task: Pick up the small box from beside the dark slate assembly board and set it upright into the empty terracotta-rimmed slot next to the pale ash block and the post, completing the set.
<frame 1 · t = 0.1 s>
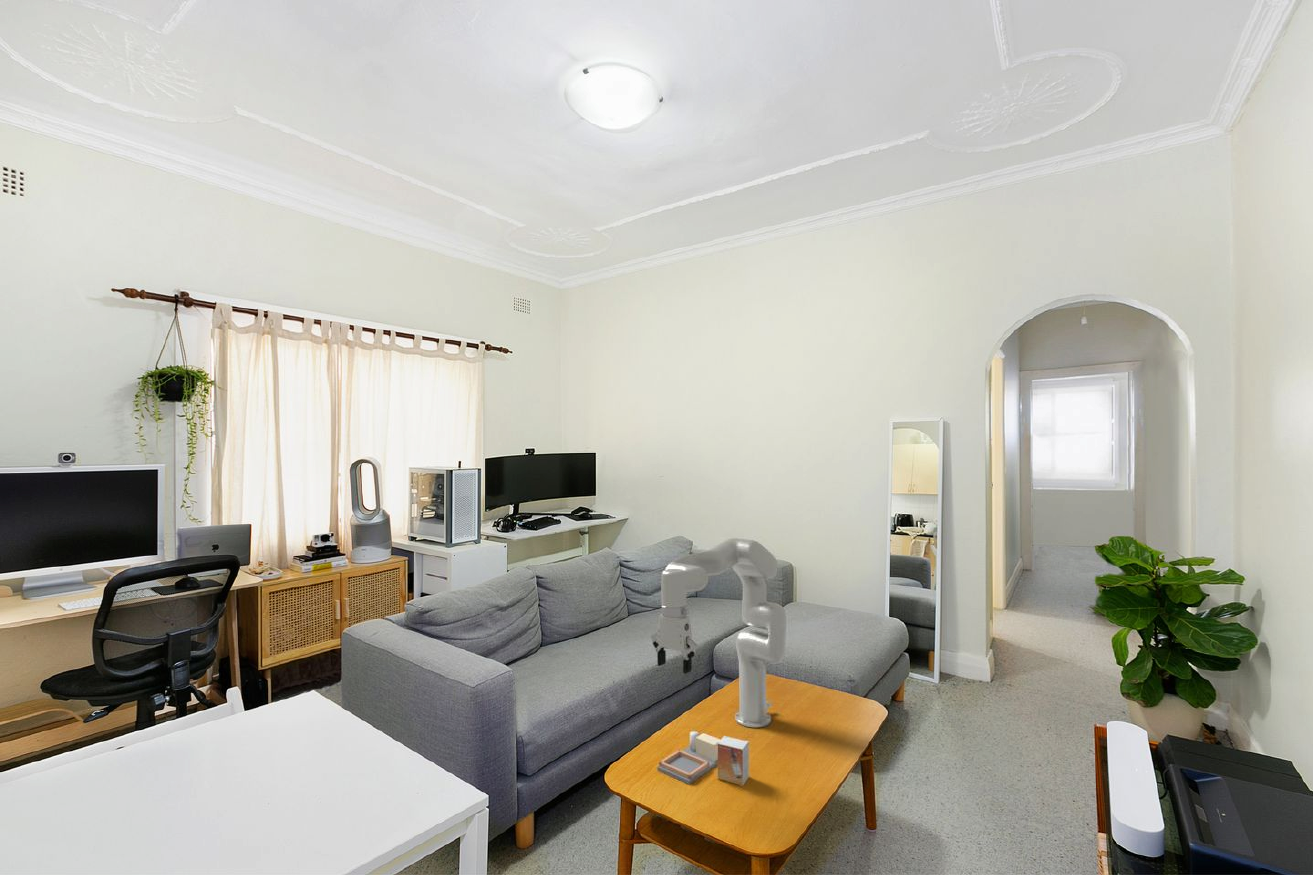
hand: (674, 668, 177), 31 cm above the table, fingers open, 9 cm apart
small box: (733, 778, 174), on the table
assembly board: (691, 764, 181), on the table
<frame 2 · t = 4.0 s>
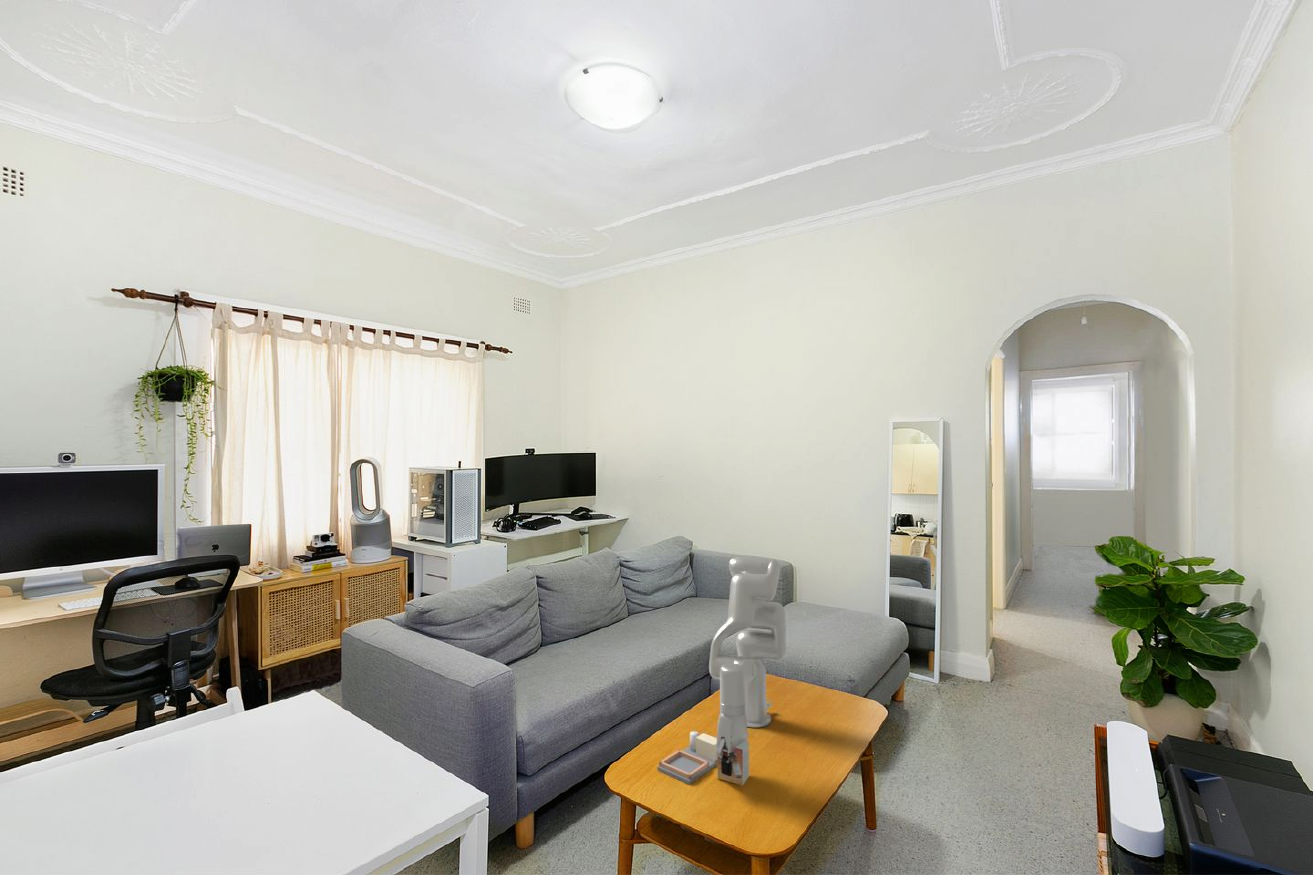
hand: (733, 768, 174), 3 cm above the table, fingers closed on small box, 6 cm apart
small box: (733, 778, 174), on the table, touching gripper
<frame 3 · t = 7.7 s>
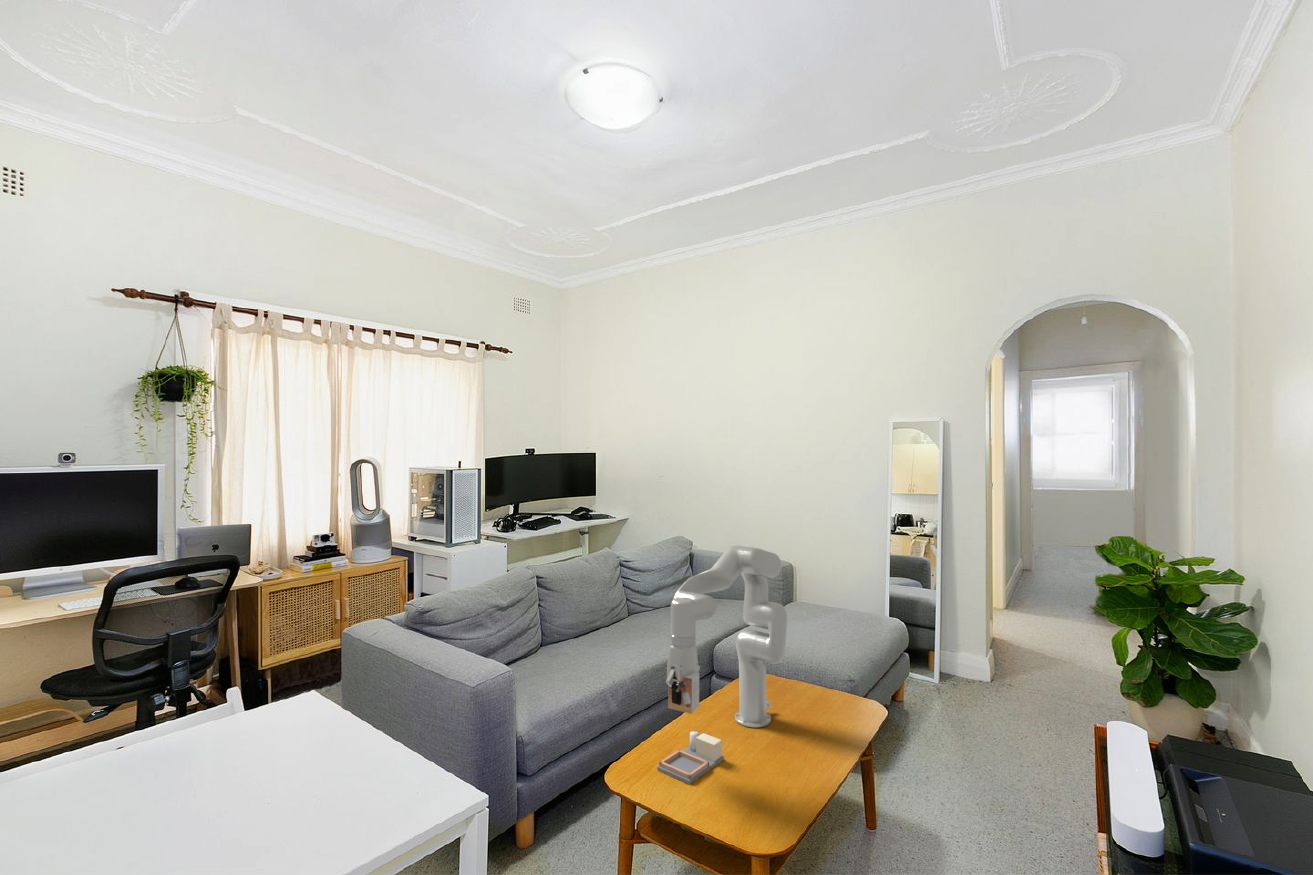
hand: (683, 699, 179), 21 cm above the table, fingers closed on small box, 6 cm apart
small box: (683, 708, 179), point 18 cm above the table, touching gripper
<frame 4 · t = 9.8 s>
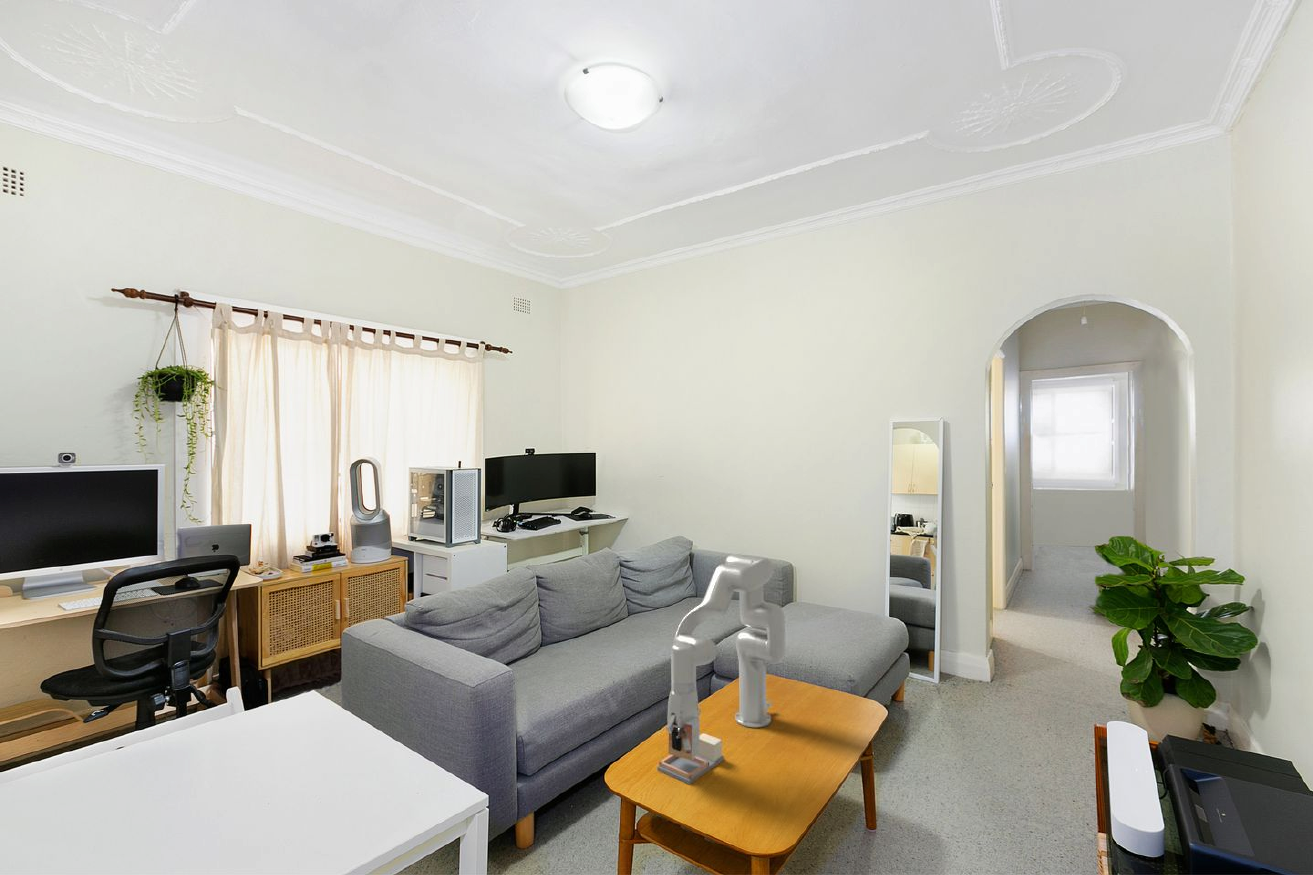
hand: (684, 744, 179), 7 cm above the table, fingers closed on small box, 6 cm apart
small box: (684, 754, 179), point 5 cm above the table, touching gripper
when the fingers open (5 cm above the table, at t = 11.3 s): small box drops 1 cm, resting on assembly board.
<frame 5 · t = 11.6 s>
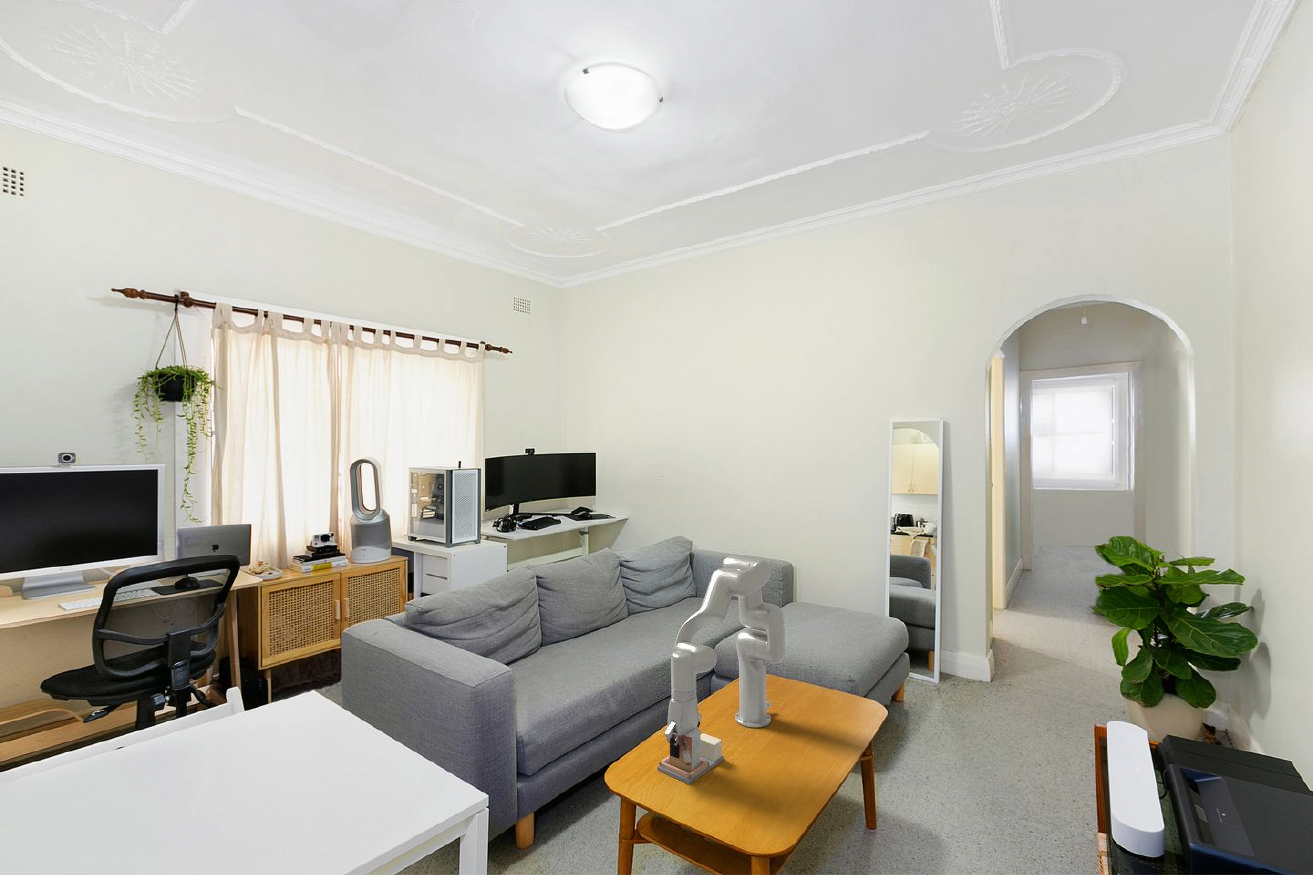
hand: (684, 750, 179), 6 cm above the table, fingers open, 8 cm apart
small box: (685, 765, 179), point 1 cm above the table, touching assembly board
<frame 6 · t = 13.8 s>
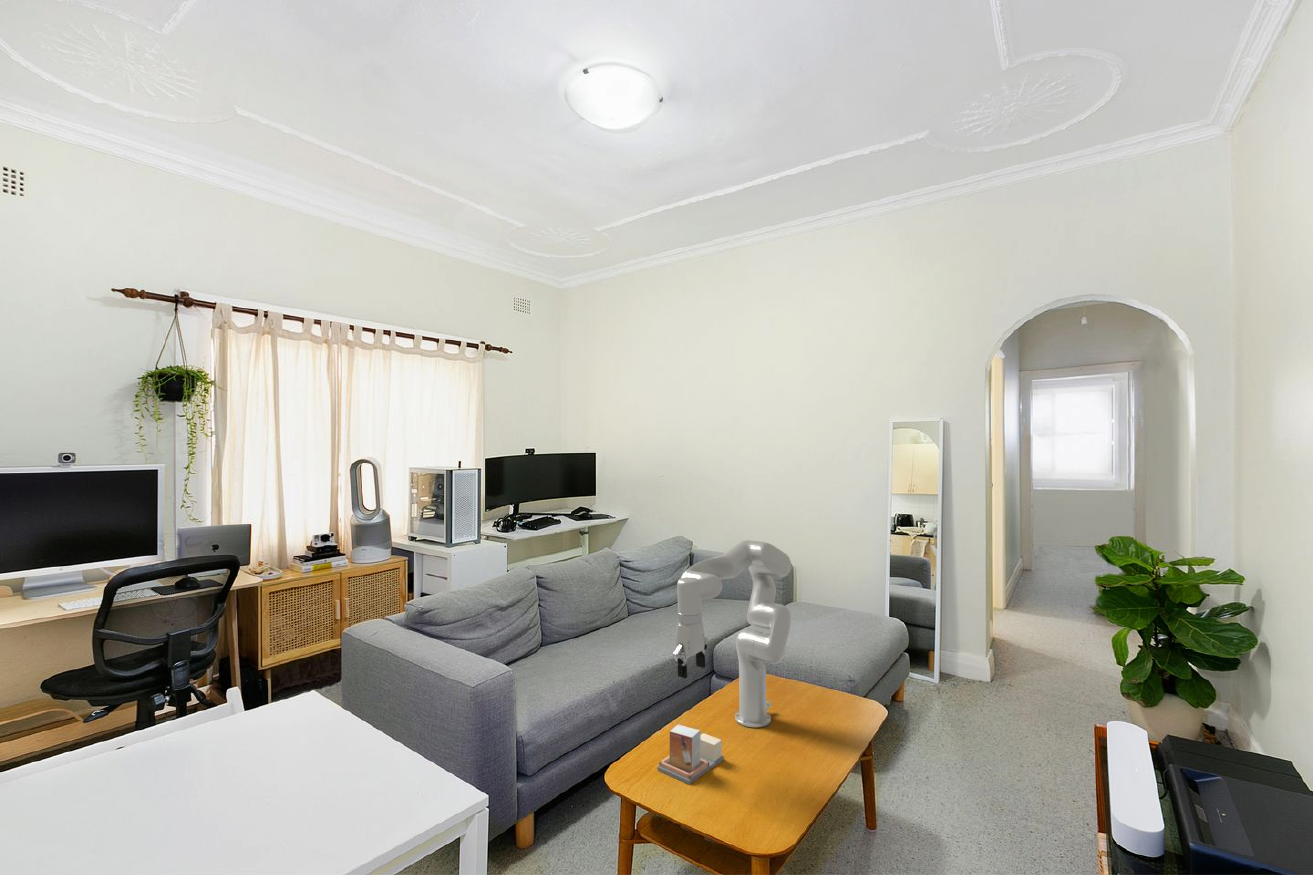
hand: (691, 671, 186), 27 cm above the table, fingers open, 9 cm apart
nothing on the table moved.
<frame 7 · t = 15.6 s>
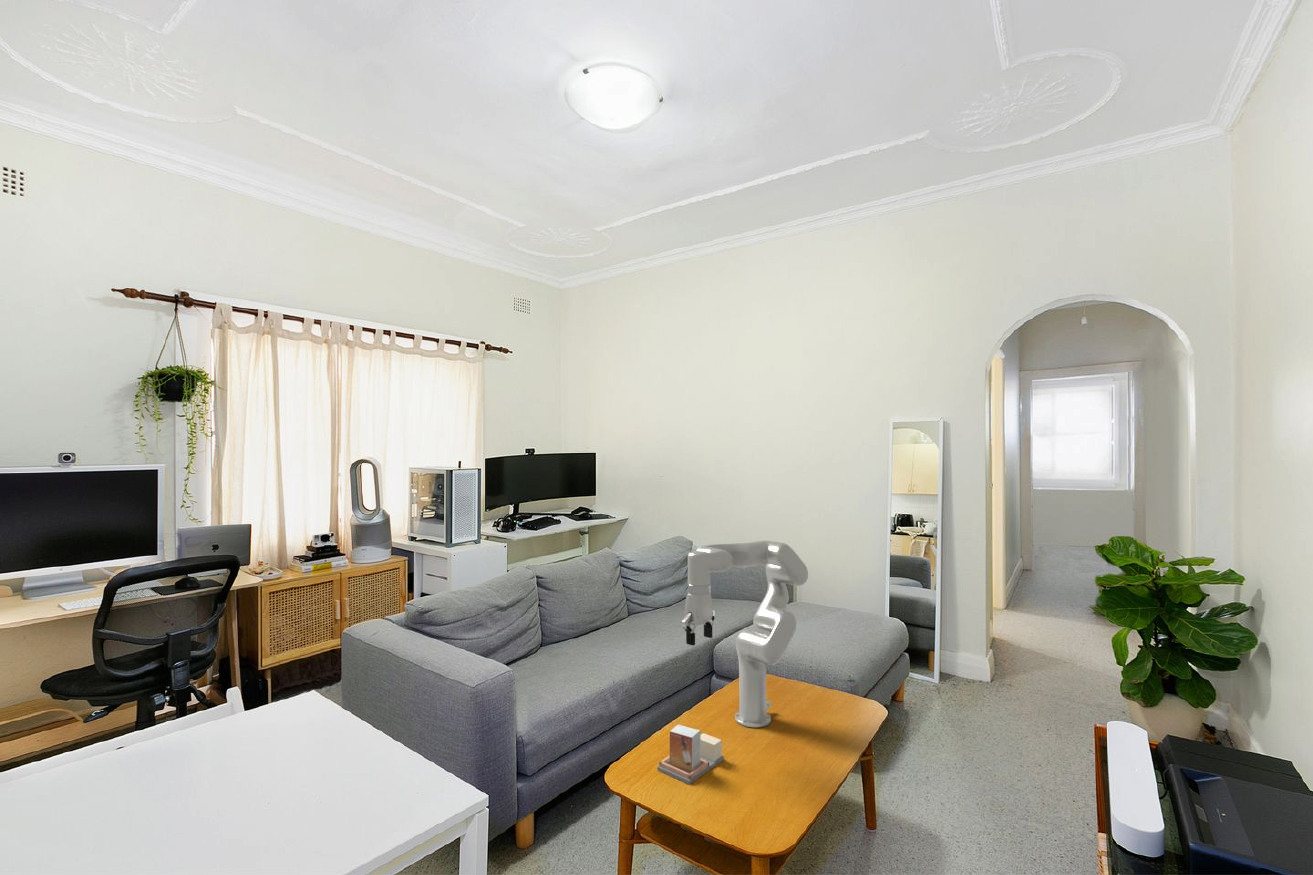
hand: (699, 640, 196), 33 cm above the table, fingers open, 9 cm apart
nothing on the table moved.
at the end: small box 0.4 cm from the target spot on the assembly board, point 0.8 cm above the assembly board's base; small box tilted 0°; the gripper is holding nothing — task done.
